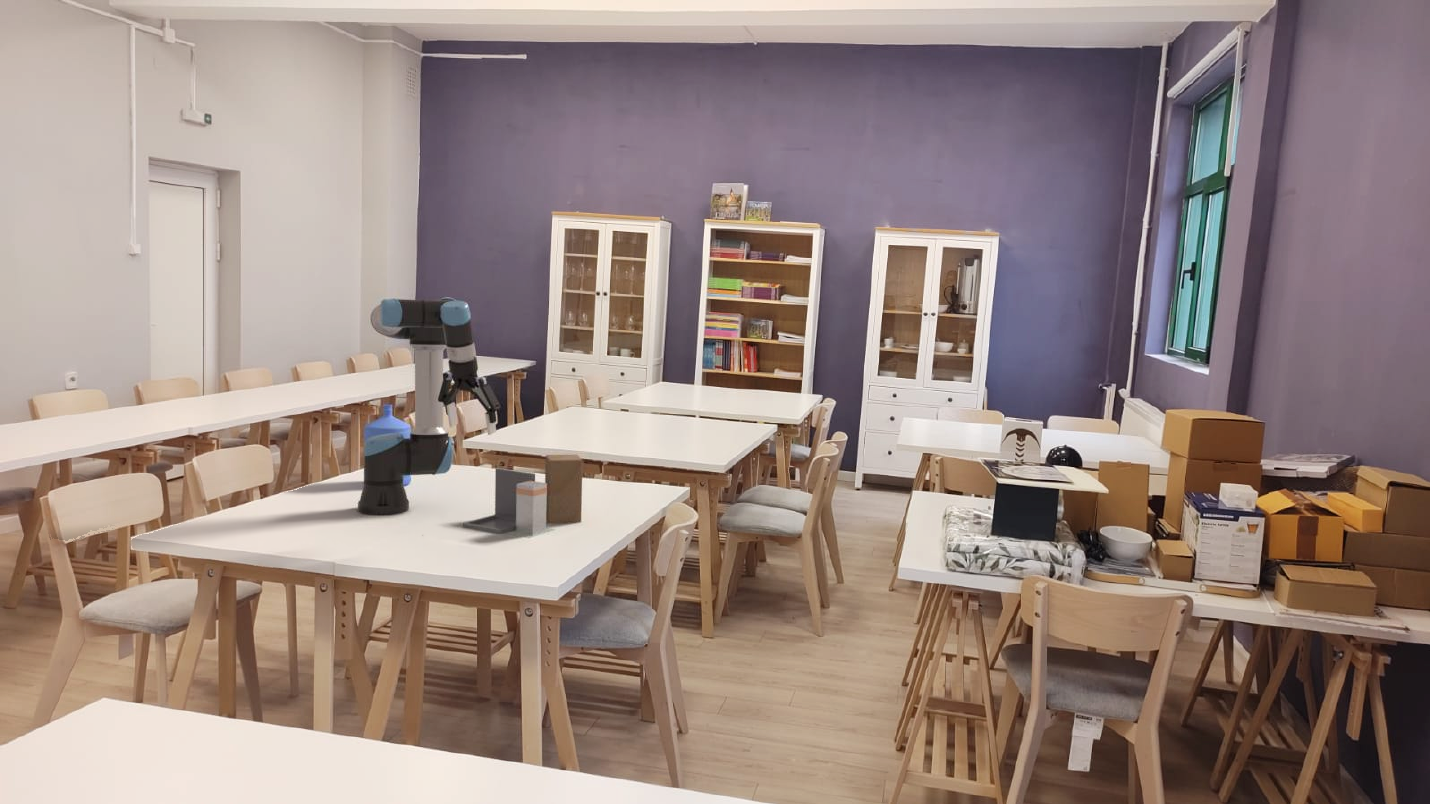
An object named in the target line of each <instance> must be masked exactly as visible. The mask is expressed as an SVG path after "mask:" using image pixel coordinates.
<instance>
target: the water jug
mask: <svg viewBox="0 0 1430 804" xmlns="http://www.w3.org/2000/svg"><path fill="white" fill-rule="evenodd" d="M411 431H412V429H411V425H410V424H409V423H407V422H406V421H403V420H401V419H398V418H396V417H395V416H393V404H388V403H387V404H385V403H384V404H382V416H381V417H379V418H377V419H375V420H373V421H371V422H368V423H366V424H365V425H364V429H363V439H364V442H363V443H365V441H366V440H367V439H369V438H371V437H374V436H378V435H384V434H396V433H398V434H402V435H403V436H404V438H410V432H411ZM411 481H412V475H405V476H403V486H404V487H405V486H408V485H409V484H411Z"/></svg>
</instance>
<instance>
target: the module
mask: <svg viewBox="0 0 1430 804" xmlns="http://www.w3.org/2000/svg"><path fill="white" fill-rule="evenodd" d="M516 494H517V498H516V529H515V531H516V532H518V533H523V534H528V535H535V534H539V533H542V532H545V531H546V528H547V520H546V502H547V483H545V482H540V481H536V480H535V481H527V482H523V483H518V484H517V488H516Z"/></svg>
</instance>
